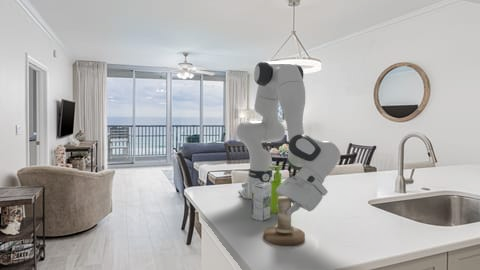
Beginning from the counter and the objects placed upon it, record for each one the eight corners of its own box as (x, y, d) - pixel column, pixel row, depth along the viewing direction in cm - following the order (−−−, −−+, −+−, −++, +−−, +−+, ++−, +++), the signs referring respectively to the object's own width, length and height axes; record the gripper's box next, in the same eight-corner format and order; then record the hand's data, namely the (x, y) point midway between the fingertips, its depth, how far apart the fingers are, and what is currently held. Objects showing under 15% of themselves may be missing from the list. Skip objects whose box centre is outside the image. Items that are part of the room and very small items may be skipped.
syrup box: (259, 215, 127) (259, 181, 126) (271, 218, 123) (271, 183, 122) (251, 218, 122) (251, 183, 121) (263, 222, 119) (263, 185, 118)
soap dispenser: (265, 210, 133) (266, 165, 132) (279, 208, 136) (280, 164, 135) (271, 214, 128) (272, 167, 127) (286, 212, 130) (286, 166, 129)
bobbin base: (256, 232, 108) (256, 228, 108) (290, 227, 113) (290, 223, 113) (275, 248, 95) (275, 244, 95) (313, 242, 100) (313, 237, 100)
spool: (271, 227, 105) (271, 196, 105) (287, 225, 108) (287, 194, 107) (280, 234, 99) (280, 201, 99) (297, 231, 102) (297, 199, 101)
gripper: (286, 170, 115) (263, 197, 112) (319, 180, 96) (292, 214, 93) (296, 180, 117) (274, 208, 114) (331, 193, 98) (304, 227, 95)
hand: (282, 211), depth 103 cm, fingers closed on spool, 5 cm apart
